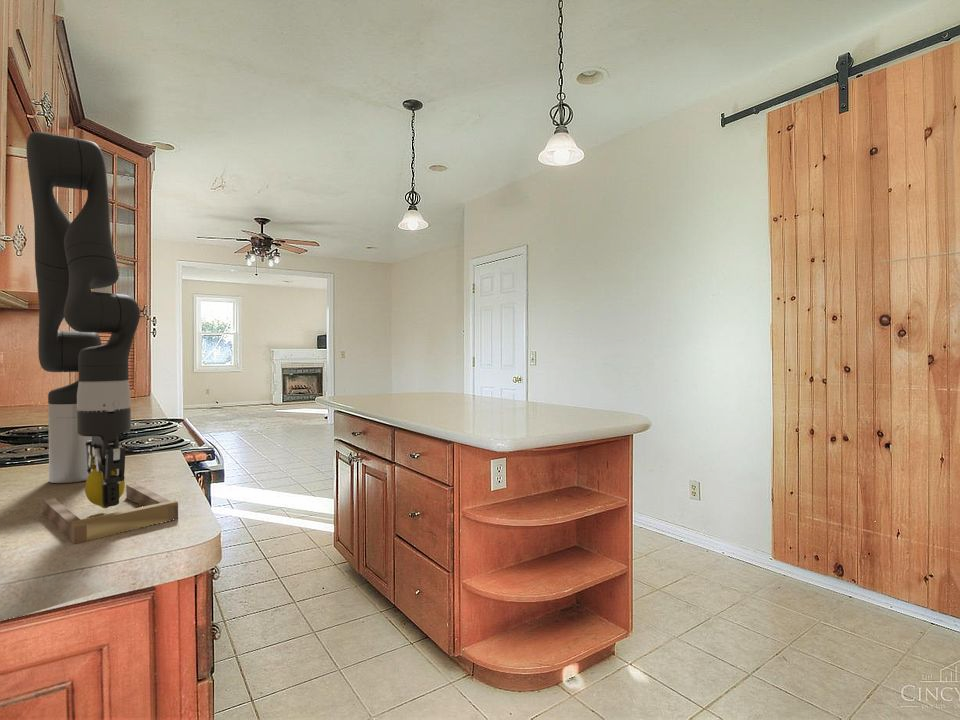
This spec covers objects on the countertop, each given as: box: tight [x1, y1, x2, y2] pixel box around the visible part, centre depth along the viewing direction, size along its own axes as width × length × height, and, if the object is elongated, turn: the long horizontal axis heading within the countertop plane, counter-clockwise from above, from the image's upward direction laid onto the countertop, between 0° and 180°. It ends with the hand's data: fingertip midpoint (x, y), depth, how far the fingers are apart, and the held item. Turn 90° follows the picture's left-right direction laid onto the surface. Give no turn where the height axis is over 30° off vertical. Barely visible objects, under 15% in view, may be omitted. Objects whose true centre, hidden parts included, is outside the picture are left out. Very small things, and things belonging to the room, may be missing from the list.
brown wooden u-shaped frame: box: [41, 483, 179, 544], centre depth 86 cm, size 22×14×3 cm, turn 51°
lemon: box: [84, 468, 126, 509], centre depth 87 cm, size 6×6×8 cm
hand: (105, 502), depth 87 cm, fingers closed on lemon, 5 cm apart
